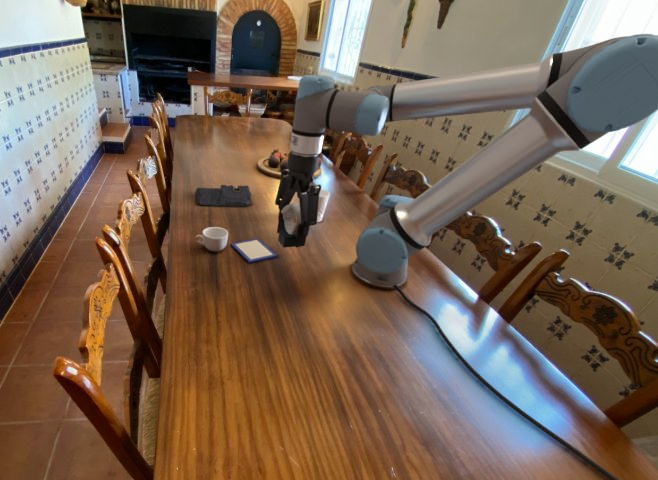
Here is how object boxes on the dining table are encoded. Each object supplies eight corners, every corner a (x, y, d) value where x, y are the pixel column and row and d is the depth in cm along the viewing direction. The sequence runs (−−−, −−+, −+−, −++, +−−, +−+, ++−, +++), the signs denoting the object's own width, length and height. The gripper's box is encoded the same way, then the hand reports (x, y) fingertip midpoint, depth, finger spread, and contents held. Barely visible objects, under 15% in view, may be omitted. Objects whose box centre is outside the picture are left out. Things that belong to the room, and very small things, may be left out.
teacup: (226, 242, 116) (226, 226, 112) (228, 254, 110) (229, 238, 106) (195, 242, 114) (194, 226, 111) (195, 254, 108) (195, 238, 105)
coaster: (277, 257, 110) (277, 255, 110) (249, 263, 106) (249, 261, 106) (257, 239, 118) (257, 238, 118) (230, 245, 114) (230, 243, 114)
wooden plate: (327, 167, 185) (331, 150, 180) (311, 186, 162) (315, 167, 156) (269, 156, 194) (271, 140, 189) (246, 172, 171) (248, 154, 166)
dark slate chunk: (194, 191, 148) (194, 179, 145) (247, 192, 151) (248, 181, 148) (196, 206, 136) (196, 194, 133) (252, 207, 139) (254, 195, 136)
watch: (293, 235, 104) (299, 198, 97) (304, 249, 98) (312, 210, 91) (275, 237, 102) (280, 199, 96) (285, 250, 96) (291, 211, 90)
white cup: (323, 224, 131) (329, 197, 124) (301, 221, 132) (307, 194, 125) (323, 215, 137) (329, 190, 130) (303, 212, 138) (308, 187, 131)
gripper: (268, 142, 91) (259, 225, 105) (319, 167, 77) (301, 259, 91) (292, 140, 94) (280, 221, 108) (346, 164, 80) (324, 253, 94)
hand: (290, 238), depth 99 cm, fingers closed on watch, 8 cm apart
